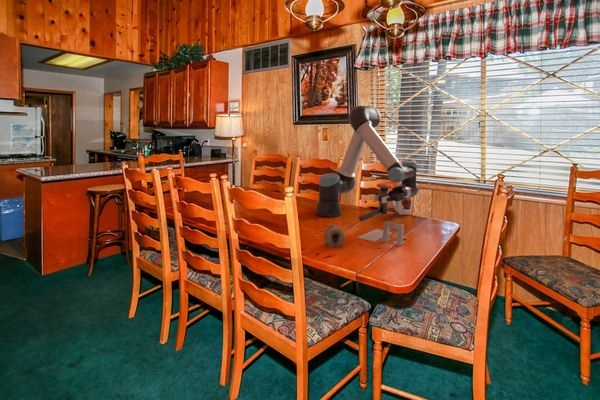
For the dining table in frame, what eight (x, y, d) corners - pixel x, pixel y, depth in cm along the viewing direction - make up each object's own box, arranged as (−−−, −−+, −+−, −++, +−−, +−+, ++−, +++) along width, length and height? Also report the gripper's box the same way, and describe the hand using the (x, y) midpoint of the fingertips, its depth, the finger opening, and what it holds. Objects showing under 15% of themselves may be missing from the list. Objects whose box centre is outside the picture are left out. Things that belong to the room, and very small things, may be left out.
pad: (357, 237, 178) (357, 237, 178) (376, 229, 192) (376, 229, 192) (374, 241, 173) (374, 241, 173) (392, 233, 186) (392, 232, 186)
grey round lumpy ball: (324, 249, 169) (317, 228, 169) (338, 243, 173) (332, 222, 173) (336, 249, 161) (329, 227, 160) (351, 242, 165) (344, 221, 165)
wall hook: (397, 209, 235) (394, 193, 233) (381, 212, 237) (377, 196, 236) (397, 206, 242) (394, 191, 241) (380, 209, 245) (377, 194, 243)
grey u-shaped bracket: (380, 241, 173) (381, 222, 172) (385, 239, 177) (386, 220, 175) (399, 245, 167) (400, 226, 166) (404, 243, 171) (405, 224, 169)
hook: (354, 219, 172) (355, 188, 169) (380, 210, 189) (381, 182, 187) (367, 222, 167) (369, 190, 165) (392, 213, 185) (394, 184, 182)
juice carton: (394, 212, 230) (396, 181, 226) (407, 211, 231) (410, 181, 227) (398, 215, 222) (400, 183, 218) (412, 214, 223) (415, 183, 219)
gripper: (415, 202, 192) (394, 210, 174) (385, 197, 203) (362, 204, 185) (416, 187, 190) (395, 194, 173) (386, 184, 201) (362, 189, 184)
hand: (378, 199), depth 179 cm, fingers closed on hook, 4 cm apart
